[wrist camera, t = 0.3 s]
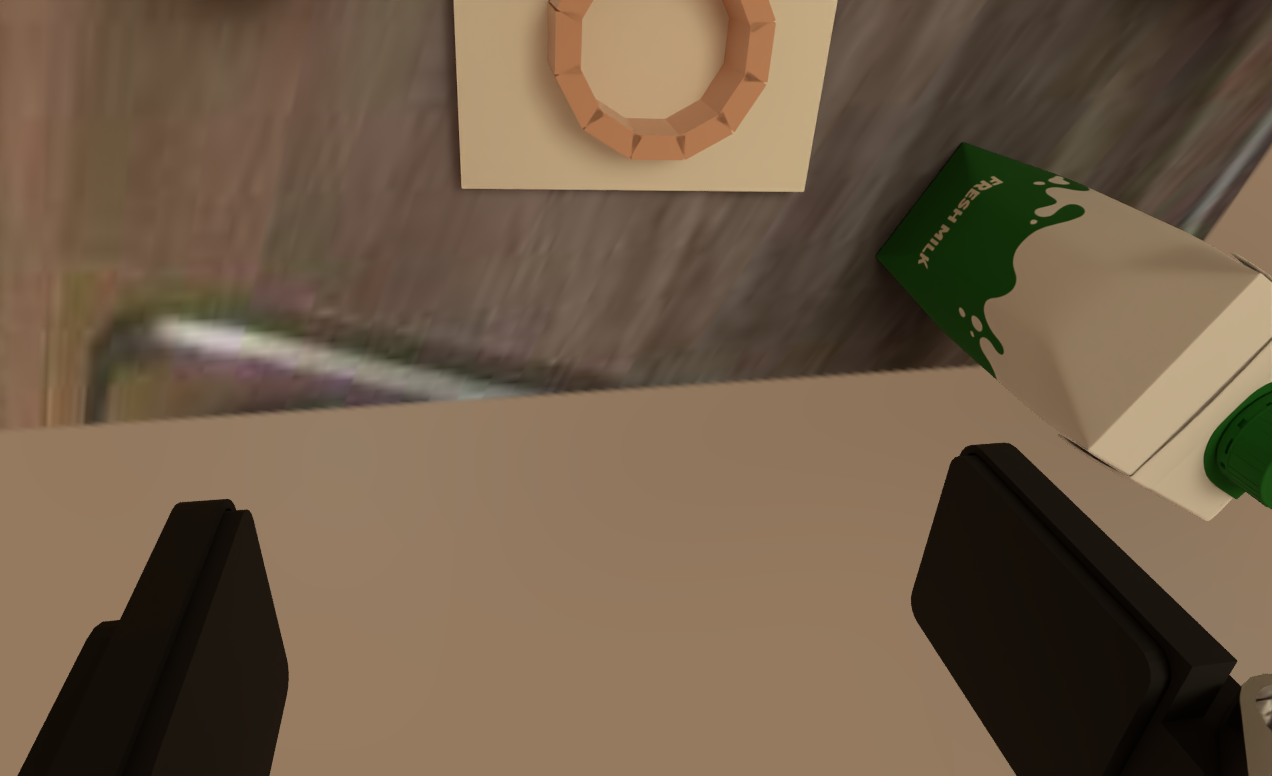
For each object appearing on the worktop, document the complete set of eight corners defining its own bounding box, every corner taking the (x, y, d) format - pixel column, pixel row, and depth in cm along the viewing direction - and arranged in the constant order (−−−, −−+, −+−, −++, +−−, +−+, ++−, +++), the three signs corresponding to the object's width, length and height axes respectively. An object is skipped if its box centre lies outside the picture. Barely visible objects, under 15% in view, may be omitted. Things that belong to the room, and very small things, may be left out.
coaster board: (446, -167, 30) (446, -169, 29) (845, -130, 33) (860, -131, 32) (461, 178, 37) (461, 188, 36) (792, 182, 40) (803, 191, 39)
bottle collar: (549, -90, 31) (557, -90, 28) (763, -74, 32) (789, -72, 30) (546, 139, 35) (553, 158, 33) (735, 143, 37) (756, 161, 34)
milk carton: (962, 331, 47) (1248, 576, 30) (849, 261, 43) (1103, 496, 26) (1072, 201, 43) (1460, 392, 27) (961, 113, 40) (1330, 271, 23)
